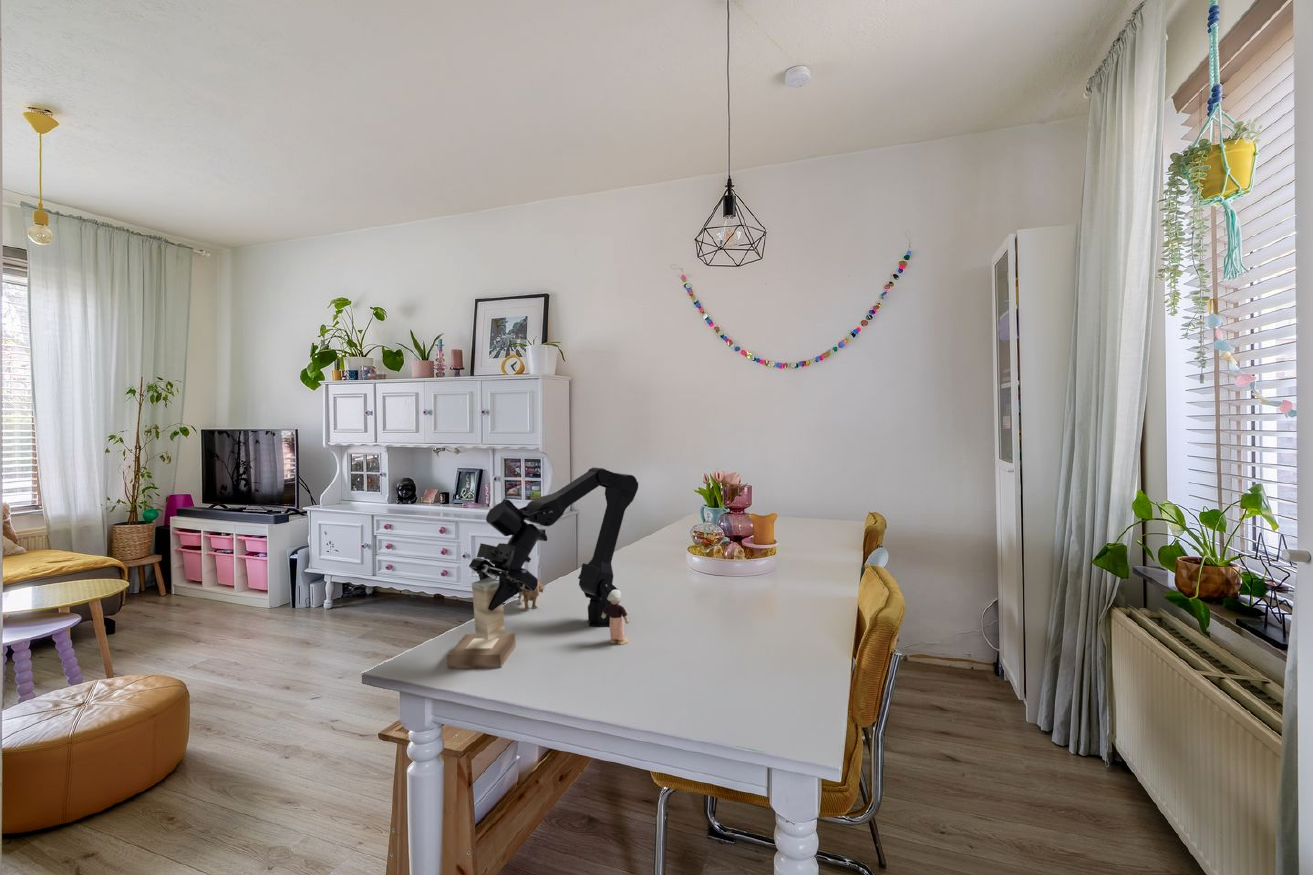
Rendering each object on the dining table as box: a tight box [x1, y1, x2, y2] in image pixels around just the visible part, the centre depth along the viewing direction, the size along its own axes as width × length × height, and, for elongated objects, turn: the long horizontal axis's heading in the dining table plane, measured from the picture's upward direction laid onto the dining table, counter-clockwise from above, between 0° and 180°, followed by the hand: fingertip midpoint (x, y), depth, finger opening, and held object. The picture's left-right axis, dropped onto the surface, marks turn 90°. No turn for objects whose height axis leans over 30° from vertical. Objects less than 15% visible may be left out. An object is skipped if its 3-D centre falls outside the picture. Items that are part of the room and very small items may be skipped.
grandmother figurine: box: [601, 588, 630, 646], centre depth 157 cm, size 8×4×13 cm, turn 71°
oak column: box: [471, 578, 506, 640], centre depth 147 cm, size 5×5×12 cm
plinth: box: [446, 633, 517, 669], centre depth 151 cm, size 12×12×3 cm
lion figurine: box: [517, 579, 546, 612], centre depth 185 cm, size 15×5×9 cm, turn 35°
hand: (483, 607), depth 146 cm, fingers closed on oak column, 4 cm apart
